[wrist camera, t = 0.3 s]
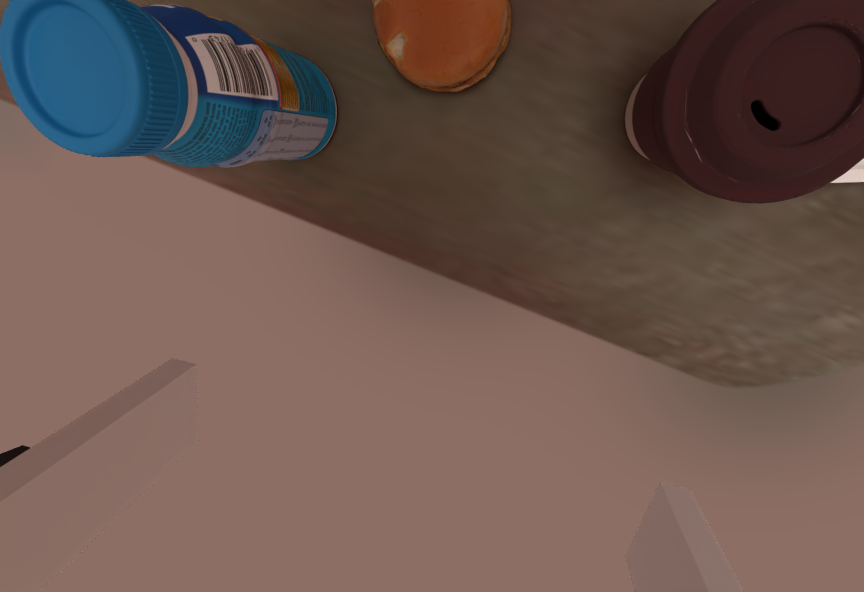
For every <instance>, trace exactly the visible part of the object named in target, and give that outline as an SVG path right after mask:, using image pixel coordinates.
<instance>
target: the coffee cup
mask: <svg viewBox="0 0 864 592" xmlns="http://www.w3.org/2000/svg"><path fill="white" fill-rule="evenodd" d="M625 127H626V131H627V135H628V138H629V140H630V142H631V144H632V146H633V147H634V148H635V150H636V151H637V152H638V153H639V154H641V155H642V156H643V157H645V158H646V159H648V160H650V161H652V162H653V163H654V164H656V165H657V166H659V167H661V168H663V169H665V170H667V171H670V172H673V173H675V174H678V175H679V176H680V177H681V178H682V179H683V180H684V181H686V182H687V183H688V184H690V185H691V186H693V187H694V188H696V189H698V190H700V191H702V192H704V193H706V194H709V195H712V196H715V197H718V198H722V199H726V200H730V201H735V202H742V203H771V202H778V201H783V200H788V199H792V198H796V197H799V196H802V195H805V194H807V193H810V192H812V191H815V190H817V189H819V188H821V187H823V186H825V185H827V184H829V183H831V182H832V181H834V180H836V179H837V178H839V177H840V176H842V175H843V174H845V173H846V172H847V171H849V170H850V169H851V168H852V167H854V166H855V165H856V164H857V163H859V162H860V161H861V160H863V159H864V0H717V1H716V2H714V3H713V4H712V5H711V6H710V7H708V8H707V9H706V10H705V11H704V12H703V13H702V14H701V15H700V16H699V17H698V18H697V19H696V20H695V21H694V22H693V23H692V24H691V25H690V27H689V28H688V29H687V30H686V31H685V32H684V34H683V35H682V37H681V38H680V39H679V41H678V42H677V44H676V45H675V46H674V47H673V48H671V49H670V50H669V51H668V52H667V53H665V54H664V55H663V56H662V57H661V58H660V59H659V60H658V61H657V62H656V63H655V64H654V65H653V66H652V68H651V69H650V70H649V71H648V73H647V74H646V75H644V76H643V78H642V79H641V80H640V81H639V82H638V84H637V85H636V87H635V88H634V90H633V92H632V94H631V96H630V98H629V101H628V104H627V108H626V113H625Z"/></svg>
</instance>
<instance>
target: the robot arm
mask: <svg viewBox="0 0 864 592" xmlns="http://www.w3.org/2000/svg"><path fill="white" fill-rule="evenodd" d="M198 440H199V438H198V404H197V370H196V364H193V363H189V362H185V361H181V360H177V359H173V358H172V359H170V360H169V361H167V362H166V363H164V364H163V365H161V366H159V367H158V368H156V369H154V370H153V371H151V372H150V373H149V374H147V375H145V376H143V377H142V378H140V379H139V380H137V381H136V382H134V383H132V384H131V385H129V386H128V387H126V388H125V389H123V390H121V391H120V392H118V393H117V394H115V395H114V396H112V397H110V398H109V399H107V400H106V401H104V402H102V403H101V404H99V405H98V406H96V407H95V408H93V409H92V410H90V411H88V412H87V413H85V414H84V415H82V416H81V417H79V418H77V419H76V420H74V421H73V422H71V423H69V424H68V425H66V426H65V427H63V428H62V429H60V430H58V431H57V432H56V433H54V434H52V435H51V436H49V437H47V438H46V439H44V440H43V441H41V442H40V443H38V444H36V445H35V446H33V447H32V448H30V447H27V446H23V445H22V446H20V447H17V448H14V449H12V450H9V451H7V452H4V453H2V454H0V592H40V591H41V590H42V589H43V588H44V587H45V586H46V585H47V584H48V583H49V582H51V581H52V580H53V579H54V578H55V577H56V576H57V575H58V574H59V573H60V572H61V571H62V570H63V569H64V568H65V567H66V566H67V565H68V564H69V563H71V562H72V560H74V559H75V558H76V557H77V555H79V554H80V553H81V552H82V551H83V550H84V549H85V548H86V547H87V546H88V545H89V544H90V543H92V542H93V540H95V539H96V538H97V537H98V536H99V535H100V534H101V533H102V532H103V531H104V530H105V529H106V528H107V527H108V526H109V525H110V524H111V523H113V521H114V520H116V519H117V518H118V517H119V516H120V515H121V514H122V513H123V512H124V511H125V510H126V509H127V508H128V507H129V506H130V505H131V504H132V503H133V502H135V501H136V500H137V499H138V498H139V497H140V496H141V495H142V494H143V493H144V492H145V491H146V490H147V489H148V488H149V487H150V486H151V485H152V484H153V483H154V482H155V481H157V480H158V478H160V477H161V476H162V475H163V474H164V473H165V472H166V471H167V470H168V469H169V468H170V467H171V466H172V465H173V464H174V463H175V462H177V461H178V460H179V459H180V458H181V457H182V456H183V455H184V454H185V453H186V452H187V451H188V450H189V449H190V448H191V447H192V446H193V445H194V444H195V443H196V442H198ZM625 558H626V561H627V565H628V569H629V572H630V576H631V579H632V583H633V587H634V590H635V592H744V591H743V589H742V587H741V585H740V583H739V582H738V579H737V577H736V576H735V574H734V572H733V570H732V568H731V566H730V564H729V562H728V561H727V559H726V556H725V555H724V553H723V551H722V549H721V547H720V545H719V543H718V541H717V540H716V537H715V536H714V534H713V532H712V530H711V528H710V526H709V524H708V522H707V521H706V518H705V516H704V515H703V513H702V511H701V509H700V507H699V505H698V503H697V502H696V499H695V498H694V496H693V494H692V492H691V490H690V489H688V488H684V487H680V486H676V485H672V484H668V483H664V482H659V484H658V486H657V488H656V490H655V493H654V495H653V497H652V499H651V501H650V503H649V506H648V508H647V510H646V512H645V514H644V516H643V518H642V521H641V523H640V525H639V527H638V529H637V531H636V533H635V536H634V538H633V540H632V542H631V544H630V546H629V549H628V551H627V553H626V555H625Z"/></svg>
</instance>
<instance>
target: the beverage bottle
mask: <svg viewBox="0 0 864 592" xmlns="http://www.w3.org/2000/svg"><path fill="white" fill-rule="evenodd" d="M0 57H1V63H2V67H3V71H4V75H5V78H6V81H7V83H8V86H9V88H10V91H11V93H12V95H13V97H14V99H15V101H16V102H17V104H18V106H19V107H20V109H21V110H22V112H23V113H24V114H25V116H26V117H27V118H28V120H29V121H30V122H31V123H32V124H33V125H34V126H35V127H36V128H37V129H38V130H39V131H40V132H41V133H42V134H43V135H44V136H45V137H47V138H48V139H49V140H51V141H52V142H54V143H55V144H57V145H59V146H61V147H63V148H65V149H67V150H70V151H72V152H75V153H79V154H84V155H91V156H97V157H120V156H121V157H122V156H124V157H125V156H141V155H148V154H152V155H154V156H156V157H158V158H160V159H163V160H165V161H168V162H171V163H174V164H177V165H181V166H186V167H207V166H213V167H237V166H241V165H245V164H247V163H250V162H255V161H267V160H302V159H306V158H309V157H311V156H313V155H315V154H317V153H318V152H319V151H321V150H322V149H323V148H324V147H325V146H326V144H327V143H328V141H329V140H330V138H331V136H332V134H333V132H334V129H335V125H336V119H337V106H336V99H335V95H334V92H333V89H332V87H331V85H330V83H329V81H328V79H327V78H326V76H325V75H324V73H323V72H322V71H321V70H320V69H319V68H318V67H317V66H316V65H315V64H314V63H312V62H311V61H309V60H308V59H306V58H304V57H302V56H300V55H297V54H295V53H291V52H289V51H286V50H284V49H282V48H280V47H277V46H275V45H273V44H271V43H268V42H266V41H264V40H262V39H259V38H257V37H255V36H253V35H250V34H248V33H247V32H245V31H244V30H242V29H241V28H239V27H238V26H236V25H234V24H232V23H230V22H227V21H225V20H222V19H219V18H215V17H211V16H206V15H204V14H202V13H200V12H198V11H196V10H193V9H191V8H188V7H184V6H179V5H171V4H159V5H149V6H145V7H141V8H140V7H138V6H137V5H135V4H133V3H131V2H129V1H126V0H10V2H9V4H8V6H7V7H6V10H5V12H4V15H3V18H2V22H1V27H0Z"/></svg>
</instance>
